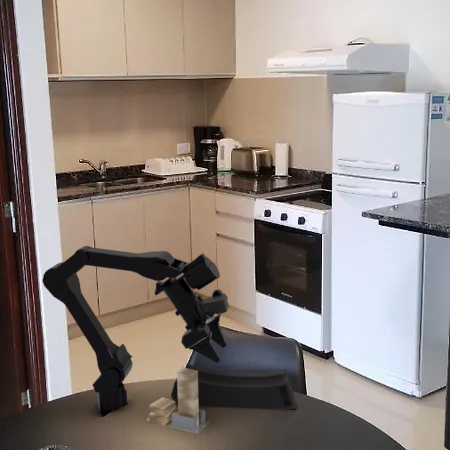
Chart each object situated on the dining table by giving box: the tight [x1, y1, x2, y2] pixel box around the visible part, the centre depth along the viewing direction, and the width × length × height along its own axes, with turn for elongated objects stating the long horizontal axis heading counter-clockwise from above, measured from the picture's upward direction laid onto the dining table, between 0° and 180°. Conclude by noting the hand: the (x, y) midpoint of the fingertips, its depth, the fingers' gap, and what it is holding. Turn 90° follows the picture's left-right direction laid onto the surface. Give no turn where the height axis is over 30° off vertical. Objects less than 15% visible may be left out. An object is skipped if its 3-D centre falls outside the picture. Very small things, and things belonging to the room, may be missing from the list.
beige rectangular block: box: [176, 367, 200, 425], centre depth 149 cm, size 4×2×13 cm, turn 63°
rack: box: [167, 408, 211, 435], centre depth 150 cm, size 8×6×4 cm
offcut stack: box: [146, 397, 178, 427], centre depth 153 cm, size 5×6×4 cm
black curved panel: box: [170, 362, 298, 410], centre depth 159 cm, size 17×3×30 cm
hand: (222, 354), depth 153 cm, fingers open, 9 cm apart
